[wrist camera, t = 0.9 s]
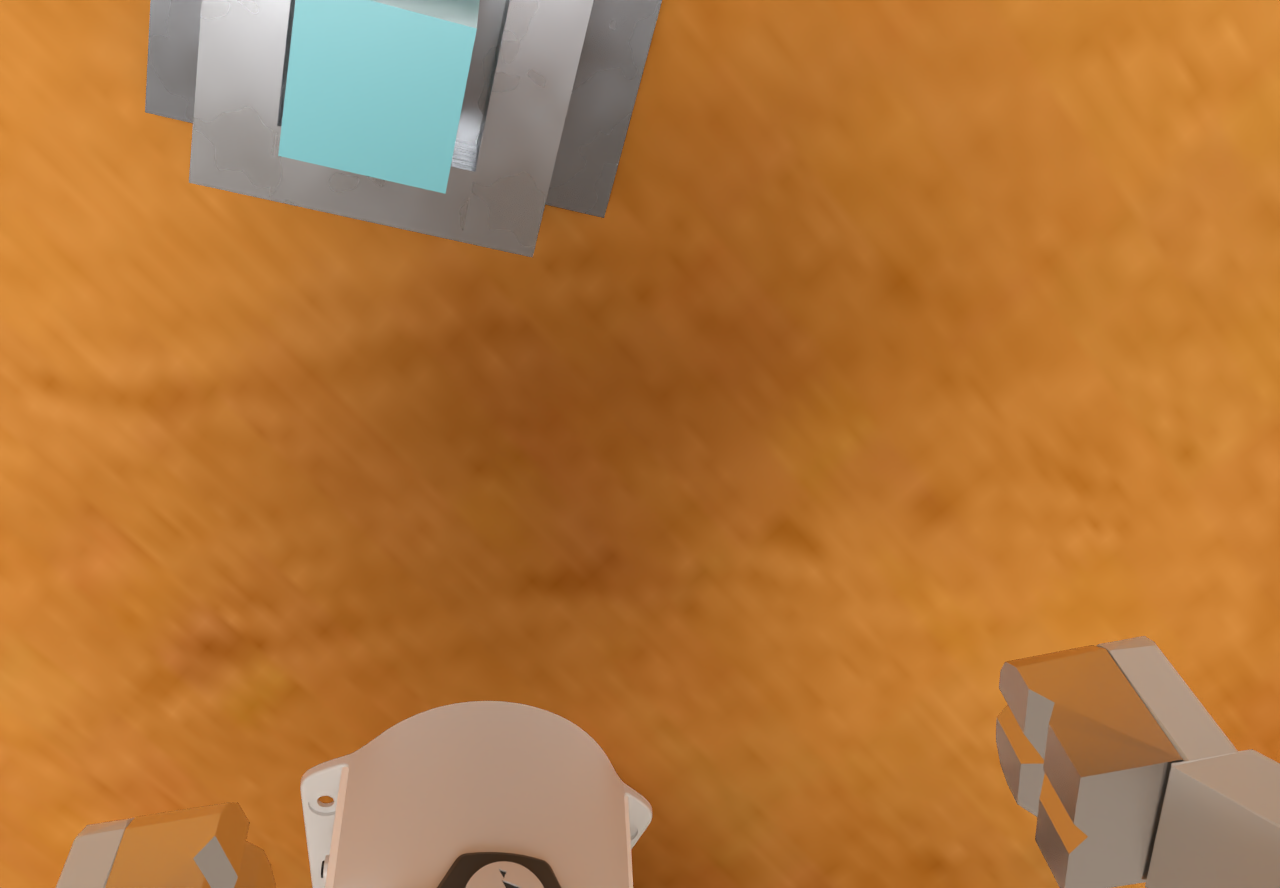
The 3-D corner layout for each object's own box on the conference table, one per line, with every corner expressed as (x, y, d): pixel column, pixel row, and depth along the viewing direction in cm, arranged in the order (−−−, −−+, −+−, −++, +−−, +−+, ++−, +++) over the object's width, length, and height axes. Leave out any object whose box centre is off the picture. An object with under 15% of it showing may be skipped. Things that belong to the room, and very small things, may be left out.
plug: (456, 112, 33) (445, 194, 27) (324, 79, 32) (278, 155, 26) (481, -23, 31) (476, 28, 25) (342, -61, 31) (297, -20, 24)
